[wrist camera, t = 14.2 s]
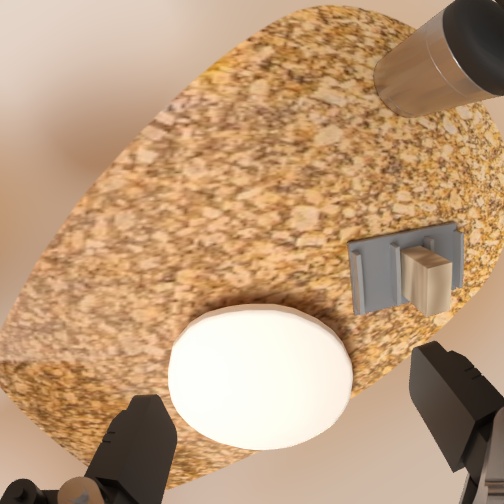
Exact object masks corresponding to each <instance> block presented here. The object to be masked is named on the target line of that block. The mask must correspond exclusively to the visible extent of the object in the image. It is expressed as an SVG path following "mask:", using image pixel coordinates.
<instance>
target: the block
mask: <svg viewBox="0 0 504 504" xmlns="http://www.w3.org/2000/svg"><path fill="white" fill-rule="evenodd" d="M400 264H401V294H402V295H403V296H404V297H405V298H407V299H408V300H409V301H410V302H411V303H412V304H413V305H414V306H415V307H416V308H417V309H418V310H419V311H420V312H421V313H422V314H423V315H424V316H425V317H429V316H433V315H436V314H439V313H442V312H445V311H448V310H450V302H451V285H452V262H451V261H449V260H447V259H445V258H443V257H441V256H439V255H438V254H436V253H434V252H432V251H430V250H428V249H426V248H424V247H422V246H415V247H410V248H406V249H401V250H400Z"/></svg>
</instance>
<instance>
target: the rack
mask: <svg viewBox="0 0 504 504" xmlns="http://www.w3.org/2000/svg"><path fill="white" fill-rule="evenodd" d="M347 246H348V255H349V264H350V275H351V286H352V299H353V312H354V314H355V316H356V315H364V314H365V313H368V312H373V311H377V310H381V309H385V308H389V307H393V306H400V305H401V304H404V303H408V302H410V301H409V300H408V299H407V298H405V297H404V296H403V295H402V294H401V264H400V250H401V249H406V248H410V247H415V246H422V247H424V248H426V249H428V250H430V251H432V252H434V253H436V254H438V255H439V256H441V257H443V258H445V259H447V260H449V261H451V262H452V285H451V290H453V289H456V287H458V288H462V287H463V267H464V233H462V232H459V231H457V224H456V223H455V222H449V223H444V224H439V225H434V226H429V227H424V228H419V229H414V230H408V231H403V232H398V233H393V234H388V235H382V236H377V237H372V238H367V239H361V240H356V241H351V242H347Z"/></svg>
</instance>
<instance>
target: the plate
mask: <svg viewBox="0 0 504 504" xmlns="http://www.w3.org/2000/svg"><path fill="white" fill-rule="evenodd" d="M352 382H353V371H352V363H351V360H350V357H349V355H348V353H347V351H346V349H345V346H344V344H343V342H342V341H341V339H340V338H339V337H338V336H337V335H336V333H335V332H334V331H333V330H332V329H331V328H329V327H328V326H326V325H325V324H324V323H322V322H321V321H320V320H318V319H317V318H315V317H313V316H310V315H308V314H306V313H304V312H301V311H299V310H297V309H295V308H292V307H287V306H282V305H277V304H243V305H235V306H228V307H224V308H220V309H217V310H213V311H209V312H206V313H204V314H203V315H201V316H199V317H198V318H196V319H195V320H193V321H191V322H190V323H189V324H188V326H187V327H186V328H185V329H184V330H183V332H182V333H181V334H180V335H179V336H178V338H177V339H176V340H175V341H174V343H173V346H172V352H171V357H170V363H169V368H168V386H169V390H170V395H171V399H172V402H173V404H174V406H175V408H176V410H177V412H178V413H179V414H180V415H181V416H182V418H183V419H184V420H185V421H186V422H187V423H188V424H189V425H190V426H191V427H193V428H194V429H195V430H197V431H198V432H199V433H201V434H203V435H205V436H207V437H209V438H211V439H213V440H215V441H217V442H219V443H223V444H227V445H231V446H235V447H239V448H243V449H252V450H270V449H280V448H285V447H289V446H293V445H296V444H299V443H302V442H304V441H307V440H309V439H311V438H313V437H315V436H317V435H319V434H321V433H322V432H323V431H325V430H326V429H328V428H329V427H331V426H332V425H333V424H334V423H335V422H336V420H337V419H338V418H339V417H340V415H341V414H342V413H343V411H344V410H345V408H346V406H347V404H348V401H349V399H350V394H351V388H352Z"/></svg>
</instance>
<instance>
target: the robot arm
mask: <svg viewBox="0 0 504 504" xmlns="http://www.w3.org/2000/svg"><path fill="white" fill-rule="evenodd" d="M495 1H496V2H497V3H496V2H494V1H492V0H455V1H454V2H453V3H451V4H450V5H449V6H447V7H446V8H445V9H443V10H442V11H441V12H439V13H438V14H437V15H436V16H434V17H433V18H432V19H431V20H429V21H428V22H427V23H425V24H424V25H423V26H422V27H420V28H419V29H418V30H416V31H415V32H414V33H413V34H411V35H410V36H409V37H408V38H406V39H405V40H404V41H403V42H401V43H400V44H399V45H398V46H397V47H395V48H394V49H393V50H392V51H390V52H389V53H388V54H387V55H385V56H384V57H383V58H382V59H381V60H380V61H379V62H378V63H377V65H376V67H375V71H374V84H375V88H376V90H377V93H378V95H379V96H380V98H381V100H382V101H383V102H384V103H385V105H386V106H387V107H388V108H390V109H391V110H392V111H393V112H395V113H397V114H399V115H401V116H404V117H409V118H413V117H419V116H423V115H426V114H430V113H434V112H438V111H441V110H445V109H449V108H453V107H457V106H461V105H465V104H469V103H473V102H477V101H482V100H486V99H490V98H495V97H499V96H504V0H495ZM409 391H410V396H411V399H412V401H413V403H414V405H415V407H416V408H417V410H418V411H419V413H420V414H421V417H422V418H423V420H424V422H425V423H426V425H427V427H428V429H429V430H430V432H431V434H432V435H433V437H434V439H435V441H436V443H437V444H438V446H439V448H440V450H441V451H442V453H443V455H444V457H445V459H446V460H447V462H448V464H449V466H450V468H451V470H452V471H453V473H454V472H456V471H458V470H460V469H462V468H464V467H466V469H467V471H468V472H469V473H468V475H467V477H466V481H465V484H464V488H463V492H462V495H461V498H460V502H459V504H504V397H503V396H502V395H501V394H500V393H499V392H498V391H497V390H496V389H495V387H494V386H493V385H492V384H491V383H490V382H489V381H488V380H487V379H486V378H485V377H484V376H482V375H481V373H480V371H479V370H478V369H477V368H474V365H473V364H472V363H471V362H470V361H469V360H468V359H467V358H466V357H465V356H463V355H461V354H459V353H456V352H454V351H449V352H447V351H446V350H445V349H444V348H443V347H442V346H441V345H440V344H439V343H438V342H437V341H432V342H429V343H426V344H423V345H421V346H418V347H415V348H413V350H412V357H411V370H410V380H409ZM176 445H177V431H176V428H175V426H174V424H173V422H172V420H171V418H170V416H169V414H168V412H167V410H166V408H165V406H164V404H163V402H162V400H161V398H160V397H159V396H158V395H156V394H155V395H135V396H134V397H133V398H132V400H131V402H130V404H129V406H128V408H127V410H122V411H121V412H120V413H119V414H118V415H117V416H116V417H115V418H114V419H113V420H112V422H111V424H110V426H109V428H108V430H107V434H105V435H104V437H103V439H102V443H100V445H99V447H98V449H97V451H96V453H95V455H94V457H93V459H92V461H91V463H90V465H89V467H88V469H87V471H86V474H85V475H84V477H76V478H72V479H70V480H68V481H67V482H65V483H64V484H63V485H62V486H61V488H60V490H40V489H39V488H38V487H37V486H36V485H35V484H34V483H33V482H32V481H30V480H28V479H18V480H16V481H14V482H12V483H11V484H10V485H9V486H8V487H7V489H6V491H5V493H4V494H3V496H2V498H1V500H0V504H161V501H162V498H163V494H164V490H165V487H166V483H167V479H168V475H169V471H170V467H171V464H172V460H173V456H174V452H175V449H176Z"/></svg>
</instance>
